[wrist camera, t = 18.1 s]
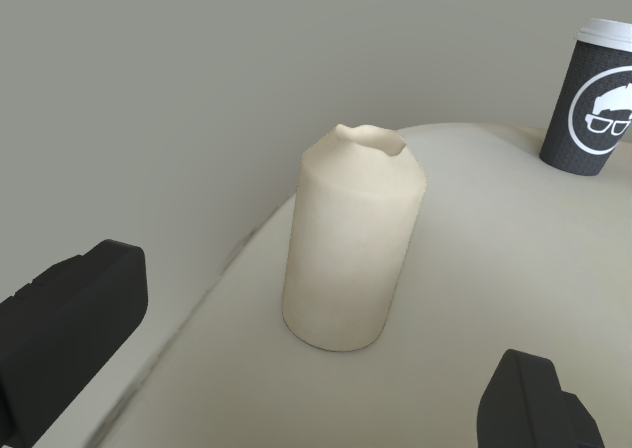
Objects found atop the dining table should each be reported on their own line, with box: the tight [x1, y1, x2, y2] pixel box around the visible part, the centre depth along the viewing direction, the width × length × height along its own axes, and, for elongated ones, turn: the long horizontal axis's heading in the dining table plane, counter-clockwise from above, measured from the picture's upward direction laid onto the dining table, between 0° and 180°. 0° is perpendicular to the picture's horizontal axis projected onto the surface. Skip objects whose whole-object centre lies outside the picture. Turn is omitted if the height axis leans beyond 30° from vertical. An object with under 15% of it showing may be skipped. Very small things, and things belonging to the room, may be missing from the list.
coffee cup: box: [540, 18, 632, 176], centre depth 47 cm, size 10×10×15 cm
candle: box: [282, 124, 428, 351], centre depth 20 cm, size 6×6×10 cm
